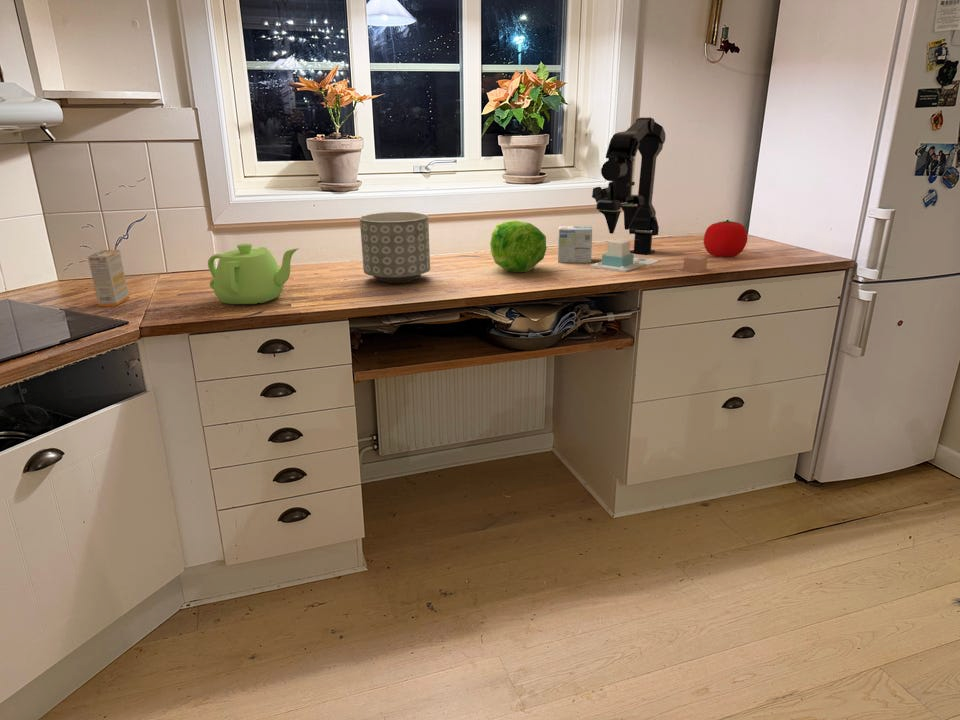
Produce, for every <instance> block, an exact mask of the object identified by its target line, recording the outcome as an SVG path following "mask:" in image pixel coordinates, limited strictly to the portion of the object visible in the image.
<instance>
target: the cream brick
mask: <svg viewBox="0 0 960 720" xmlns="http://www.w3.org/2000/svg"><path fill="white" fill-rule="evenodd" d="M606 247H607V248H606V249H607V250H606V254H607V255H612V256H619V257H623V256H626V255H628V254H631V252H630V251H631V241H630V240H624V239H613V240H610V241H607V245H606Z"/></svg>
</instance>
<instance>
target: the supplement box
mask: <svg viewBox="0 0 960 720" xmlns="http://www.w3.org/2000/svg"><path fill="white" fill-rule="evenodd" d="M87 260H88V265H89V269H90V273H91V279H92V282H93V286H94V291H95V296H96V300H97V304H98V307H99V306H107V307H118V306H119V305H120V304H122V303H123V302H125V301H126V300H129V298H130V296H129V290H128V286H127V280H126V275H125V271H124V266H123V260H122V255H121V250H120V249H101V250H99V251H96V252H95V253H93V254H91V255H88V256H87ZM117 305H118V306H117Z"/></svg>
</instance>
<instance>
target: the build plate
mask: <svg viewBox="0 0 960 720" xmlns="http://www.w3.org/2000/svg"><path fill="white" fill-rule="evenodd" d="M634 256H635V253H630V254H628V255H626V256H623V257H619V256H612V255H607V253H604V254H602V255H601V261H599V262H596V263H592V264H590V265H589V266H590V268H594V269H600V270H601V269H602V270H609V271H615V272H621V273H627V272H629V271H633V270H635V269H638V268H640V267H643V266H645V265H644V263H639V262H633V259H634V258H635V257H634Z"/></svg>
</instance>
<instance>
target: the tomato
mask: <svg viewBox="0 0 960 720" xmlns="http://www.w3.org/2000/svg"><path fill="white" fill-rule="evenodd" d="M747 242H748V232H747V230H746V227H745V226H744V225H743V224H742V223H740V222H736V221H732V220H729V219H726V220H723V221H718V222H714V223H712V224H710V225H708V227H707V228H706V230H705V232H704V236H703V246H704V248H705V250H706V252H707V253H708V254H709V255H711V256H714V257H718V258H733V257H736V256H739V255H740V254H741V253H742V252H743V251H744V250H745V247H746V245H747V244H748V243H747Z"/></svg>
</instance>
